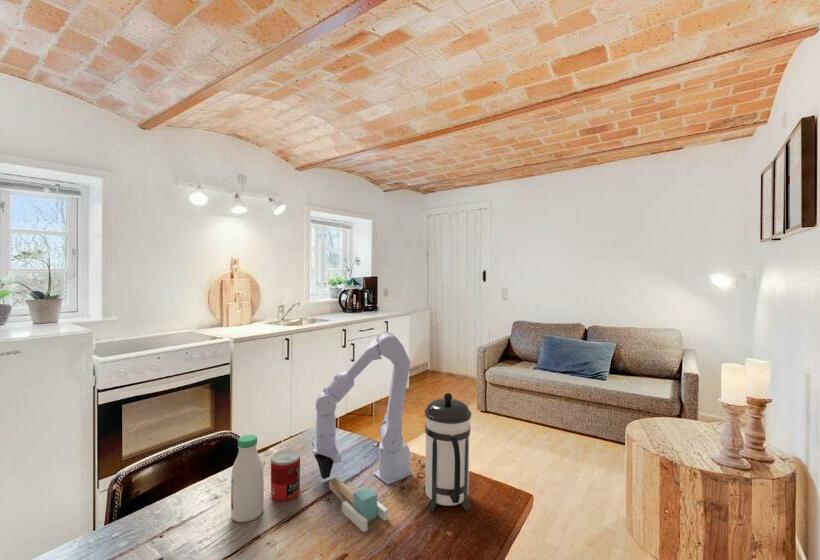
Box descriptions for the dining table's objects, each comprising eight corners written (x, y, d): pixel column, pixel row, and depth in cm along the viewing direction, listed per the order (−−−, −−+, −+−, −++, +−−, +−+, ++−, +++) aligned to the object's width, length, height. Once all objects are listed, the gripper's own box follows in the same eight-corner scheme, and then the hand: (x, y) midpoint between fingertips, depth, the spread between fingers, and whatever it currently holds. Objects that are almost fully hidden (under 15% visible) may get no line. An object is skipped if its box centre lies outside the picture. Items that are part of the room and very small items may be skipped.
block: (367, 508, 102) (367, 486, 102) (377, 516, 99) (377, 494, 99) (353, 515, 99) (353, 492, 99) (362, 524, 96) (362, 500, 96)
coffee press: (406, 501, 105) (407, 393, 104) (441, 478, 117) (443, 381, 116) (457, 531, 93) (459, 410, 93) (491, 502, 105) (493, 395, 104)
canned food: (291, 504, 103) (291, 464, 103) (265, 500, 105) (265, 461, 105) (304, 488, 111) (305, 451, 111) (279, 485, 112) (279, 448, 112)
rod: (336, 485, 113) (337, 477, 113) (361, 509, 102) (361, 500, 102) (328, 489, 111) (329, 480, 111) (353, 513, 100) (353, 503, 100)
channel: (366, 500, 105) (366, 491, 105) (388, 519, 98) (388, 509, 98) (341, 511, 100) (342, 502, 100) (363, 532, 93) (363, 522, 93)
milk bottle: (269, 508, 102) (269, 434, 101) (248, 526, 94) (248, 446, 94) (246, 501, 104) (246, 429, 104) (224, 519, 97) (224, 441, 96)
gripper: (302, 428, 117) (302, 471, 118) (325, 445, 106) (325, 493, 107) (323, 422, 122) (323, 464, 122) (347, 438, 111) (347, 483, 111)
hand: (325, 477), depth 115 cm, fingers closed
